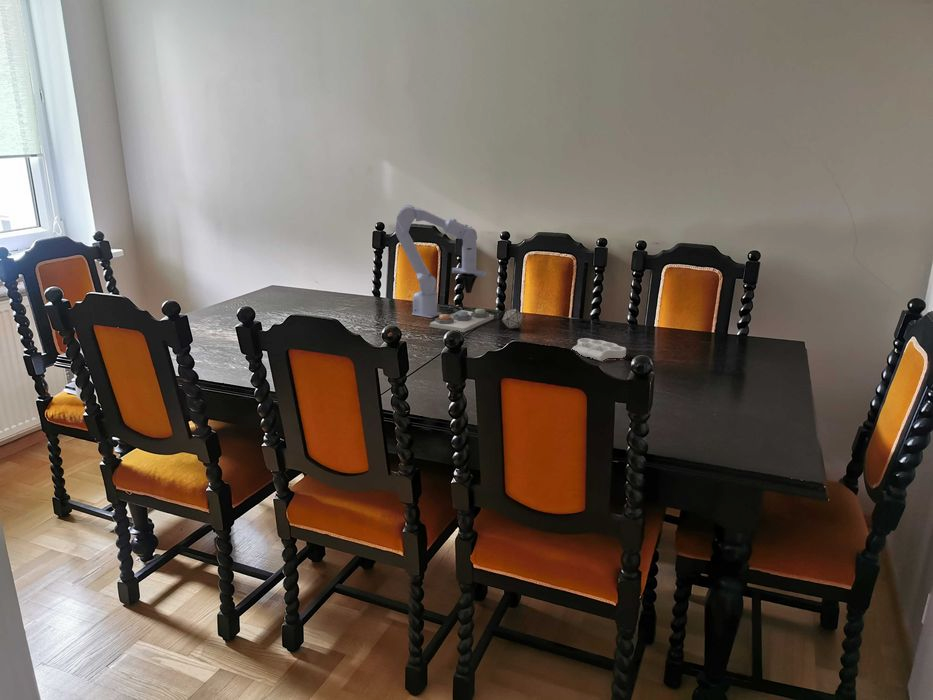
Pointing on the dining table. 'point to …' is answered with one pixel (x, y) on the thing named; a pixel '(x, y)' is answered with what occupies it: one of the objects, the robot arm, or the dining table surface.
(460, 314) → the button blue
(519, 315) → the game die
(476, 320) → the button panel
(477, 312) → the button green
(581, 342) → the grey hollowed tray
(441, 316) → the button terracotta
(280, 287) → the dining table surface
